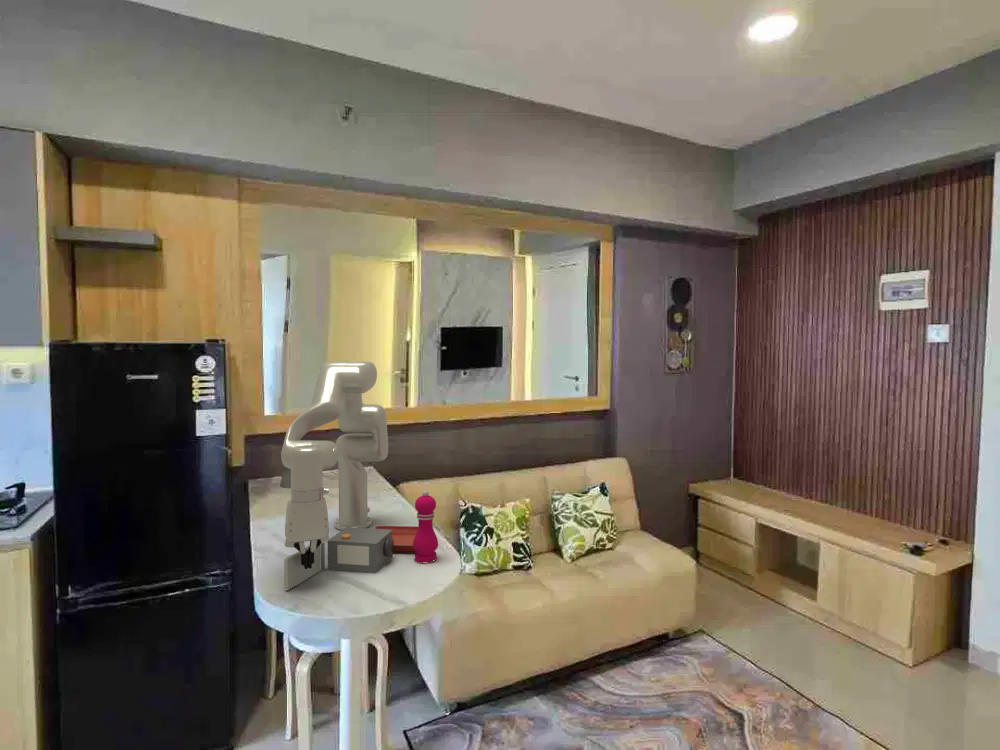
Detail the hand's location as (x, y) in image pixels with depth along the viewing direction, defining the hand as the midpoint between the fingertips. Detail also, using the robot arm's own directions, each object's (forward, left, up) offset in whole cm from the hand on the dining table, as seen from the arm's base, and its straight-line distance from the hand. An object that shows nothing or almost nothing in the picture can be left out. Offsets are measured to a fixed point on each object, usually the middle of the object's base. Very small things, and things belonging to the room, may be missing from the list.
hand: (307, 566), depth 140 cm
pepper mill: (-23, +24, -5) cm, 34 cm away
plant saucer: (-34, +12, -6) cm, 37 cm away
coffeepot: (-98, -61, -5) cm, 116 cm away
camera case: (-17, +7, -5) cm, 19 cm away
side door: (-4, -2, -5) cm, 6 cm away
